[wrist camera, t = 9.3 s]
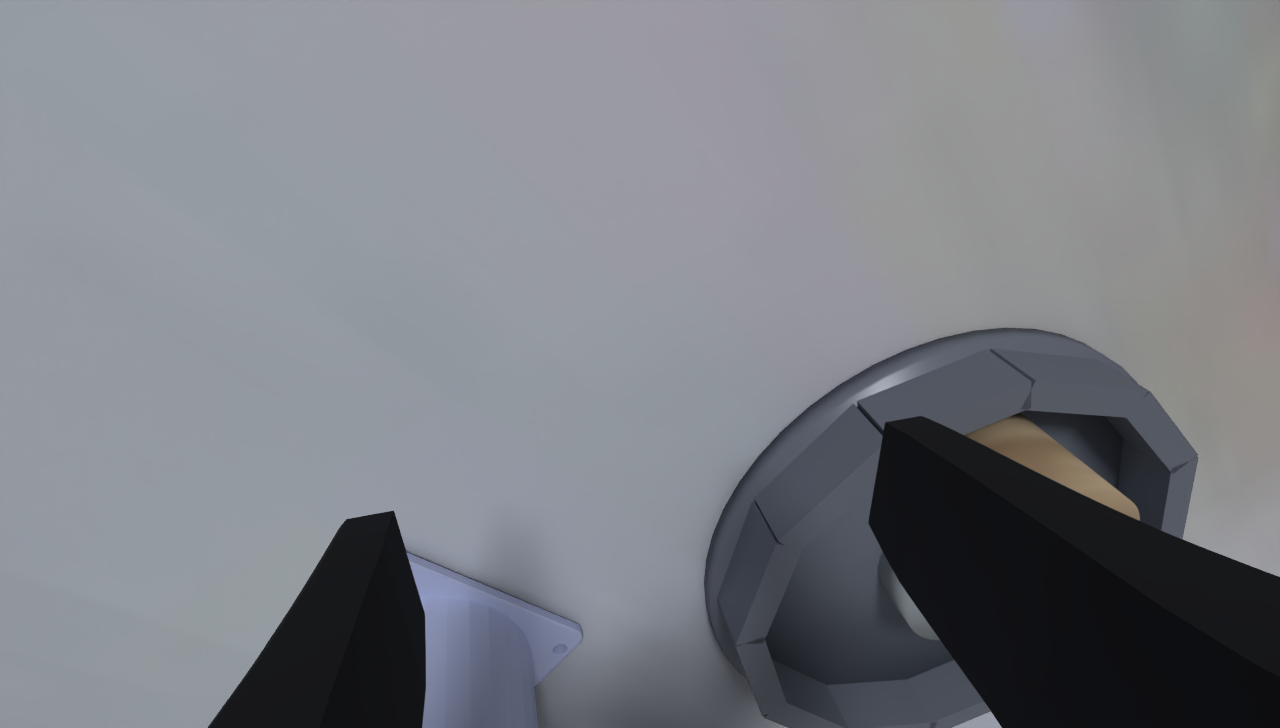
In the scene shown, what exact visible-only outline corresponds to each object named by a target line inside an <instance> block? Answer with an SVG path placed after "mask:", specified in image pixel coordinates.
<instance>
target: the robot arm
mask: <svg viewBox="0 0 1280 728" xmlns="http://www.w3.org/2000/svg"><path fill="white" fill-rule="evenodd" d="M868 524H869V526H870V528H871V530H872V532H873V534H874V535H875V537H876V539H877V541H878V543H879V545H880V547H881V549H882V551H883V553H884V555H885V557H886V559H887V561H888V562H889V564H890V566H891V568H892V570H893V571H894V573H895V575H896V577H897V579H898V580H899V582H900V583H901V585H902V586H903V588H904V589H905V591H906V592H907V594H908V595H909V597H910V598H911V600H912V601H913V602H914V604H915V605H916V607H917V608H918V609H919V611H920V612H921V614H922V615H923V617H924V618H925V619H926V621H927V622H928V624H929V625H930V627H931V628H932V629H933V631H934V632H935V634H936V635H937V636H938V638H939V639H940V641H941V642H942V643H943V645H944V646H945V648H946V649H947V650H948V652H949V653H950V655H951V656H952V657H953V659H954V660H955V661H956V663H957V664H958V666H959V667H960V668H961V670H962V671H963V673H964V674H965V675H966V677H967V678H968V680H969V681H970V682H971V684H972V685H973V687H974V688H975V689H976V691H977V692H978V694H979V695H980V696H981V698H982V699H983V701H984V702H985V703H986V705H987V706H988V708H989V709H990V710H991V712H992V713H993V715H994V716H995V718H996V719H997V721H998V722H999V724H1000V725H1001V727H1002V728H1280V577H1278V576H1275V575H1273V574H1270V573H1267V572H1264V571H1262V570H1259V569H1257V568H1254V567H1251V566H1249V565H1246V564H1244V563H1241V562H1238V561H1236V560H1233V559H1231V558H1228V557H1225V556H1223V555H1220V554H1218V553H1215V552H1212V551H1210V550H1207V549H1205V548H1202V547H1199V546H1197V545H1195V544H1192V543H1190V542H1187V541H1185V540H1183V539H1180V538H1178V537H1175V536H1173V535H1171V534H1168V533H1166V532H1164V531H1161V530H1159V529H1157V528H1155V527H1152V526H1150V525H1148V524H1146V523H1143V522H1141V521H1139V520H1137V519H1134V518H1132V517H1130V516H1128V515H1125V514H1123V513H1121V512H1119V511H1117V510H1114V509H1112V508H1110V507H1108V506H1106V505H1104V504H1101V503H1099V502H1097V501H1095V500H1093V499H1091V498H1089V497H1087V496H1085V495H1082V494H1080V493H1078V492H1076V491H1074V490H1072V489H1070V488H1068V487H1066V486H1064V485H1062V484H1060V483H1058V482H1056V481H1054V480H1052V479H1050V478H1048V477H1046V476H1044V475H1042V474H1040V473H1038V472H1036V471H1034V470H1032V469H1030V468H1028V467H1026V466H1024V465H1022V464H1020V463H1018V462H1016V461H1014V460H1012V459H1010V458H1008V457H1006V456H1004V455H1002V454H1000V453H998V452H996V451H994V450H992V449H990V448H988V447H986V446H984V445H982V444H980V443H978V442H976V441H974V440H972V439H970V438H968V437H966V436H964V435H962V434H960V433H958V432H956V431H954V430H952V429H950V428H948V427H946V426H944V425H942V424H939V423H937V422H935V421H933V420H930V419H928V418H926V417H923V416H917V417H912V418H906V419H901V420H895V421H890V422H885V426H884V431H883V437H882V443H881V449H880V455H879V461H878V467H877V473H876V479H875V485H874V491H873V497H872V503H871V509H870V515H869V521H868ZM582 638H583V635H582V629H581V627H580V626H579V625H578V624H577V623H574V622H572V621H569V620H567V619H565V618H562V617H560V616H557V615H555V614H553V613H550V612H548V611H546V610H543V609H541V608H538V607H536V606H534V605H531V604H529V603H526V602H524V601H522V600H519V599H517V598H514V597H512V596H510V595H507V594H505V593H503V592H500V591H498V590H495V589H493V588H491V587H488V586H486V585H483V584H481V583H479V582H476V581H474V580H472V579H469V578H467V577H464V576H462V575H460V574H457V573H455V572H452V571H450V570H448V569H445V568H443V567H441V566H438V565H436V564H433V563H431V562H429V561H426V560H424V559H421V558H419V557H417V556H414V555H412V554H410V553H407V552H406V549H405V546H404V543H403V540H402V536H401V533H400V530H399V526H398V523H397V520H396V516H395V513H394V511H390V512H384V513H379V514H373V515H368V516H362V517H357V518H351V519H346V521H345V522H344V523H343V524H342V525H341V527H340V528H339V530H338V531H337V533H336V535H335V536H334V538H333V540H332V541H331V543H330V545H329V546H328V548H327V550H326V551H325V553H324V555H323V556H322V558H321V560H320V561H319V563H318V565H317V566H316V568H315V570H314V571H313V573H312V574H311V576H310V578H309V579H308V581H307V583H306V584H305V586H304V587H303V589H302V591H301V592H300V594H299V595H298V597H297V599H296V600H295V602H294V603H293V605H292V607H291V608H290V610H289V611H288V613H287V614H286V616H285V617H284V619H283V620H282V622H281V623H280V625H279V626H278V628H277V629H276V631H275V632H274V634H273V635H272V637H271V638H270V640H269V641H268V643H267V644H266V646H265V647H264V649H263V651H262V652H261V654H260V655H259V657H258V658H257V660H256V661H255V663H254V664H253V665H252V667H251V668H250V670H249V671H248V673H247V674H246V676H245V677H244V678H243V680H242V681H241V683H240V684H239V685H238V687H237V688H236V689H235V691H234V692H233V694H232V695H231V696H230V698H229V699H228V700H227V702H226V703H225V705H224V706H223V707H222V709H221V710H220V711H219V713H218V714H217V716H216V717H215V718H214V720H213V721H212V722H211V724H210V725H209V727H208V728H538V719H537V709H536V699H535V690H534V687H535V686H536V685H537V684H538V683H539V682H540V681H541V680H542V679H543V678H545V677H546V676H547V675H548V674H549V673H550V672H551V671H552V670H553V669H554V668H555V667H556V666H557V665H558V664H559V663H560V662H561V661H562V660H563V659H564V658H565V657H566V656H567V655H568V654H569V653H570V652H571V651H572V650H573V649H574V648H576V647H577V646H578V645H579V644H580V642H581V641H582ZM558 644H559V645H558Z"/></svg>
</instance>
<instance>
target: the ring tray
mask: <svg viewBox="0 0 1280 728" xmlns="http://www.w3.org/2000/svg"><path fill="white" fill-rule="evenodd" d="M1017 413H1021V414H1023V415H1024V416H1025V417H1026V418H1028V419H1029V420H1030V421H1031V422H1033V423H1034V424H1035V425H1037V426H1038V427H1039V428H1040V429H1042V430H1043V431H1044V432H1045V433H1047V434H1048V435H1049V436H1050V437H1052V438H1053V439H1054V440H1055V441H1057V442H1058V443H1059V444H1060V445H1062V446H1063V447H1064V448H1065V449H1067V450H1068V451H1069V452H1070V453H1072V454H1073V455H1074V456H1075V457H1077V458H1078V459H1079V460H1080V461H1082V462H1083V463H1084V464H1086V465H1087V466H1088V467H1089V468H1091V469H1092V470H1093V471H1094V472H1096V473H1097V474H1098V475H1099V476H1101V477H1102V478H1103V479H1104V480H1106V481H1107V482H1108V483H1109V484H1111V485H1112V486H1113V487H1114V488H1116V489H1117V490H1118V491H1119V492H1121V493H1122V494H1123V495H1124V496H1126V497H1127V498H1128V499H1130V500H1131V501H1132V502H1133V503H1134V504H1135V505H1136V507H1137V508H1138V511H1139V515H1140V521H1141V522H1143V523H1146V524H1148V525H1150V526H1152V527H1155V528H1157V529H1159V530H1161V531H1164V532H1166V533H1168V534H1171V535H1173V536H1175V537H1178V538H1180V539H1182V538H1183V533H1184V528H1185V523H1186V518H1187V513H1188V508H1189V503H1190V498H1191V492H1192V487H1193V482H1194V477H1195V472H1196V467H1197V462H1198V457H1197V455H1198V454H1197V453H1196V451H1195V450H1194V449H1193V447H1192V446H1191V445H1190V444H1189V442H1188V441H1187V440H1186V438H1185V437H1184V436H1183V434H1182V433H1181V432H1180V430H1179V429H1178V428H1177V426H1176V425H1175V424H1174V422H1173V421H1172V420H1171V418H1170V417H1169V416H1168V414H1167V413H1166V412H1165V410H1164V409H1163V408H1162V406H1161V405H1160V404H1159V402H1158V401H1157V400H1156V398H1155V397H1154V396H1153V394H1152V393H1151V392H1150V391H1148V390H1146V389H1145V388H1143V387H1142V386H1140V385H1138V383H1137V382H1136V381H1135V380H1134V379H1133V378H1132V377H1131V376H1130V375H1129V374H1128V373H1127V372H1126V371H1125V370H1124V369H1123V368H1122V367H1121V366H1120V365H1118V364H1117V363H1115V362H1114V361H1112V360H1110V359H1109V358H1107V357H1106V356H1104V355H1103V354H1101V353H1099V352H1098V351H1096V350H1095V349H1093V348H1091V347H1090V346H1088V345H1086V344H1085V343H1082V342H1080V341H1077V340H1075V339H1072V338H1069V337H1067V336H1064V335H1062V334H1057V333H1052V332H1047V331H1042V330H1037V329H1022V328H999V329H988V330H978V331H971V332H966V333H962V334H957V335H953V336H948V337H944V338H940V339H937V340H934V341H931V342H928V343H925V344H922V345H919V346H916V347H913V348H910V349H907V350H905V351H903V352H901V353H898V354H896V355H894V356H892V357H890V358H888V359H885V360H883V361H881V362H879V363H877V364H875V365H872V366H871V367H869V368H867V369H866V370H864V371H862V372H861V373H859V374H857V375H855V376H854V377H852V378H850V379H849V380H847V381H845V382H843V383H842V384H840V385H839V386H837V387H836V388H835V389H833V390H832V391H830V392H829V393H828V394H826V395H825V396H824V397H822V398H821V399H819V400H818V401H817V402H815V403H814V404H812V405H811V406H810V407H809V408H807V409H806V410H805V411H804V412H803V413H802V414H801V415H800V416H798V417H797V418H796V419H795V420H794V421H793V422H792V423H791V424H789V425H788V426H787V427H786V428H785V429H784V430H783V431H782V432H781V433H780V434H779V435H778V436H777V437H776V438H775V439H774V440H773V441H772V442H771V444H770V445H769V446H768V447H767V448H766V449H765V450H764V451H763V452H762V453H761V454H760V455H759V457H758V458H757V459H756V461H755V462H754V463H753V465H752V466H751V467H750V469H749V470H748V471H747V473H746V474H745V475H744V477H743V478H742V479H741V481H740V482H739V484H738V485H737V487H736V489H735V491H734V492H733V494H732V496H731V498H730V499H729V501H728V503H727V505H726V506H725V508H724V510H723V512H722V515H721V517H720V519H719V522H718V524H717V527H716V529H715V531H714V534H713V537H712V541H711V544H710V548H709V552H708V556H707V560H706V570H705V581H704V586H705V598H706V606H707V610H708V613H709V617H710V620H711V623H712V626H713V629H714V631H715V634H716V637H717V639H718V642H719V644H720V645H721V647H722V649H723V651H724V653H725V655H726V657H727V658H728V660H729V661H730V662H731V663H732V664H733V666H734V667H735V668H736V669H737V670H738V671H739V673H741V674H742V675H743V676H744V677H746V678H747V679H748V682H749V684H750V687H751V689H752V692H753V694H754V697H755V699H756V702H757V704H758V706H759V709H760V711H761V714H762V716H764V718H766V719H769V720H771V721H774V722H776V723H779V724H781V725H784V726H786V727H789V728H952V727H954V726H957V725H959V724H961V723H964V722H966V721H968V720H971V719H973V718H976V717H978V716H980V715H983V714H985V713H988V712H990V711H991V710H990V709H989V708H988V706H987V705H986V703H985V702H984V701H983V699H982V698H981V696H980V695H979V694H978V692H977V691H976V689H975V688H974V687H973V685H972V684H971V682H970V681H969V680H968V678H967V677H966V675H965V674H964V673H963V671H962V670H961V668H960V667H959V666H958V664H957V663H956V661H955V660H954V659H953V657H952V656H951V655H950V653H949V652H948V650H947V649H946V648H945V646H944V645H943V643H942V642H941V641H940V639H939V638H938V636H937V635H936V634H935V632H934V631H933V629H932V628H931V627H930V625H929V624H928V622H927V621H926V619H925V618H924V617H923V615H922V614H921V612H920V611H919V609H918V608H917V607H916V605H915V604H914V602H913V601H912V600H911V598H910V597H909V595H908V594H907V592H906V591H905V589H904V588H903V586H902V585H901V583H900V582H899V580H898V579H897V577H896V575H895V573H894V571H893V570H892V568H891V566H890V564H889V562H888V561H887V559H886V557H885V555H884V553H883V551H882V549H881V547H880V545H879V543H878V541H877V539H876V537H875V535H874V534H873V532H872V530H871V528H870V526H869V524H868V521H869V515H870V509H871V503H872V497H873V491H874V485H875V479H876V473H877V467H878V461H879V455H880V449H881V443H882V437H883V431H884V426H885V422H890V421H895V420H901V419H906V418H912V417H917V416H923V417H926V418H928V419H930V420H933V421H935V422H937V423H939V424H942V425H944V426H946V427H948V428H950V429H952V430H954V431H956V432H958V433H960V434H962V435H965V434H968V433H970V432H973V431H975V430H978V429H980V428H983V427H985V426H987V425H990V424H992V423H995V422H997V421H1000V420H1002V419H1005V418H1007V417H1010V416H1012V415H1015V414H1017Z"/></svg>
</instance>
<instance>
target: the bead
mask: <svg viewBox="0 0 1280 728" xmlns="http://www.w3.org/2000/svg"><path fill="white" fill-rule="evenodd" d="M964 436H966V437H968V438H970V439H972V440H974V441H976V442H978V443H980V444H982V445H984V446H986V447H988V448H990V449H992V450H994V451H996V452H998V453H1000V454H1002V455H1004V456H1006V457H1008V458H1010V459H1012V460H1014V461H1016V462H1018V463H1020V464H1022V465H1024V466H1026V467H1028V468H1030V469H1032V470H1034V471H1036V472H1038V473H1040V474H1042V475H1044V476H1046V477H1048V478H1050V479H1052V480H1054V481H1056V482H1058V483H1060V484H1062V485H1064V486H1066V487H1068V488H1070V489H1072V490H1074V491H1076V492H1078V493H1080V494H1082V495H1085V496H1087V497H1089V498H1091V499H1093V500H1095V501H1097V502H1099V503H1101V504H1104V505H1106V506H1108V507H1110V508H1112V509H1114V510H1117V511H1119V512H1121V513H1123V514H1125V515H1128V516H1130V517H1132V518H1134V519H1137V520H1139V521H1140V515H1139V511H1138V508H1137V507H1136V505H1135V504H1134V503H1133V502H1132V501H1131V500H1130V499H1128V498H1127V497H1126V496H1124V495H1123V494H1122V493H1121V492H1119V491H1118V490H1117V489H1116V488H1114V487H1113V486H1112V485H1111V484H1109V483H1108V482H1107V481H1106V480H1104V479H1103V478H1102V477H1101V476H1099V475H1098V474H1097V473H1096V472H1094V471H1093V470H1092V469H1091V468H1089V467H1088V466H1087V465H1086V464H1084V463H1083V462H1082V461H1080V460H1079V459H1078V458H1077V457H1075V456H1074V455H1073V454H1072V453H1070V452H1069V451H1068V450H1067V449H1065V448H1064V447H1063V446H1062V445H1060V444H1059V443H1058V442H1057V441H1055V440H1054V439H1053V438H1052V437H1050V436H1049V435H1048V434H1047V433H1045V432H1044V431H1043V430H1042V429H1040V428H1039V427H1038V426H1037V425H1035V424H1034V423H1033V422H1031V421H1030V420H1029V419H1028V418H1026V417H1025V416H1024V415H1023V414H1021V413H1017V414H1015V415H1012V416H1010V417H1007V418H1005V419H1002V420H1000V421H997V422H995V423H992V424H990V425H987V426H985V427H983V428H980V429H978V430H975V431H973V432H970V433H968V434H965V435H964Z"/></svg>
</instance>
